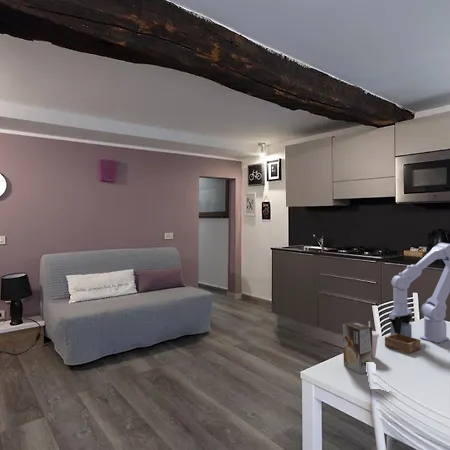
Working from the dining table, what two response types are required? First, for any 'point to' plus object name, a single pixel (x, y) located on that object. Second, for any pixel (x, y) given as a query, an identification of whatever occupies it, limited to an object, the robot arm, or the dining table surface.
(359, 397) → the dining table surface
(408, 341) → the walnut crate
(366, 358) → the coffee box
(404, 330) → the slate crate
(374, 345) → the smoothie
